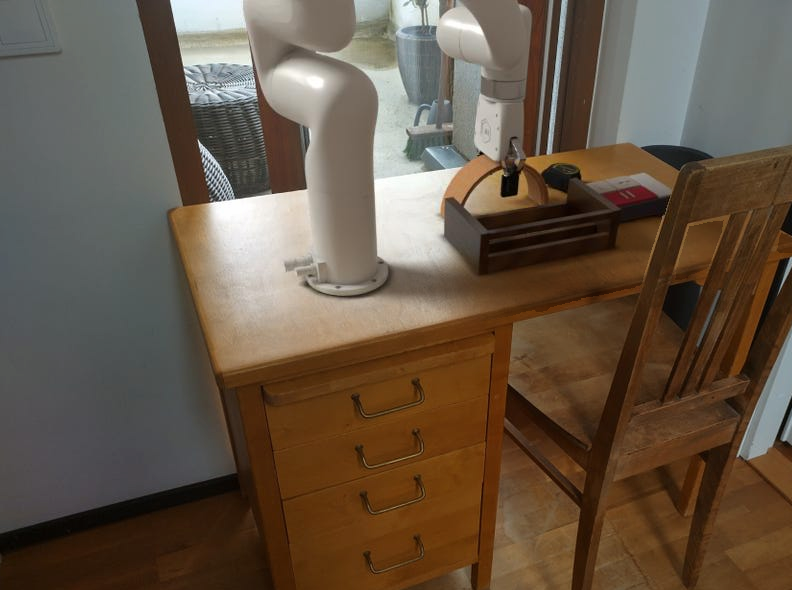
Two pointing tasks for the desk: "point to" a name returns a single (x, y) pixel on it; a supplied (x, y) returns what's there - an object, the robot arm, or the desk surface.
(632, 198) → the plus minus keypad
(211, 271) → the desk surface
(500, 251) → the rack
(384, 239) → the desk surface
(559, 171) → the tape measure
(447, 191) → the arch
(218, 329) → the desk surface
